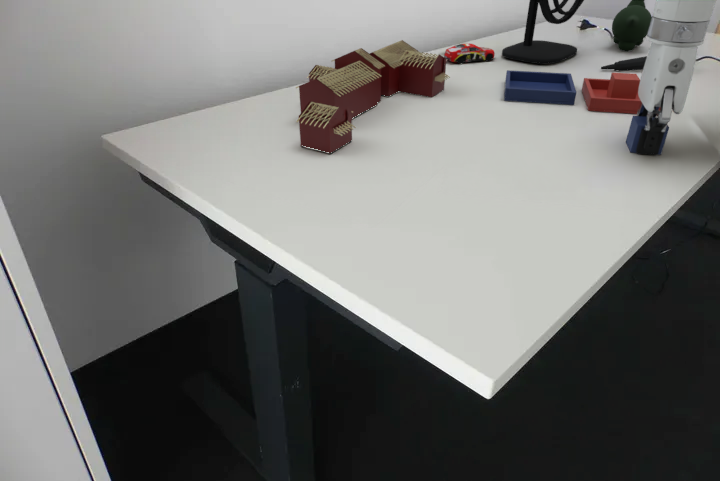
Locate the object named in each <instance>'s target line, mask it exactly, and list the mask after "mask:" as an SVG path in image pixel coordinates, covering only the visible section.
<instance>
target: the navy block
mask: <svg viewBox="0 0 720 481" xmlns="http://www.w3.org/2000/svg"><path fill="white" fill-rule="evenodd" d="M654 118H658V116H656V117H653V118H652V121H653V119H654ZM646 119H647V117H645V116H637V115H632V117H631V121H630V124H629V128H628V132H627V135H626V139H625V144H626V145H627V146H626V147H627V148H628V150H629V153H634V154H638V153H637V152H636V148H637V145H638V141H639V138H640V134H641V131H642V129H645V124H646ZM669 130H670V127H669V125H668V124H667V126H666V130H665V132H664V136H663V139H662V142H661V145H660V149H659V152H658V154H657V156H659V155H660V156H661V155H662V154H663V150H664V146H665V143H666V140H667V137H668V133H669Z"/></svg>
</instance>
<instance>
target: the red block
mask: <svg viewBox="0 0 720 481" xmlns="http://www.w3.org/2000/svg"><path fill="white" fill-rule="evenodd" d="M609 79H610V82H609V86H608V91H607V97H608V98H621V99H636V95H637V92H638V88H639V84H640V79H641V78H640V77H639V75H638V74H637V73H628V72H611V75H610V78H609Z"/></svg>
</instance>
